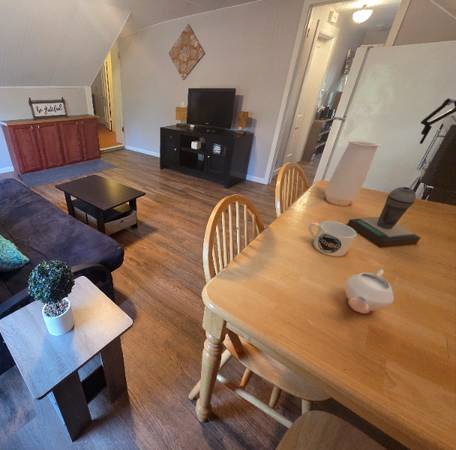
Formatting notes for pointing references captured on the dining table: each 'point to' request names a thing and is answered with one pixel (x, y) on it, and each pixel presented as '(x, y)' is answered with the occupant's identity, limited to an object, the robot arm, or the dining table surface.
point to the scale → (383, 233)
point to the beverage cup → (396, 206)
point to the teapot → (368, 292)
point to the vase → (351, 172)
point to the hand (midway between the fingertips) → (444, 146)
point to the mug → (333, 237)
